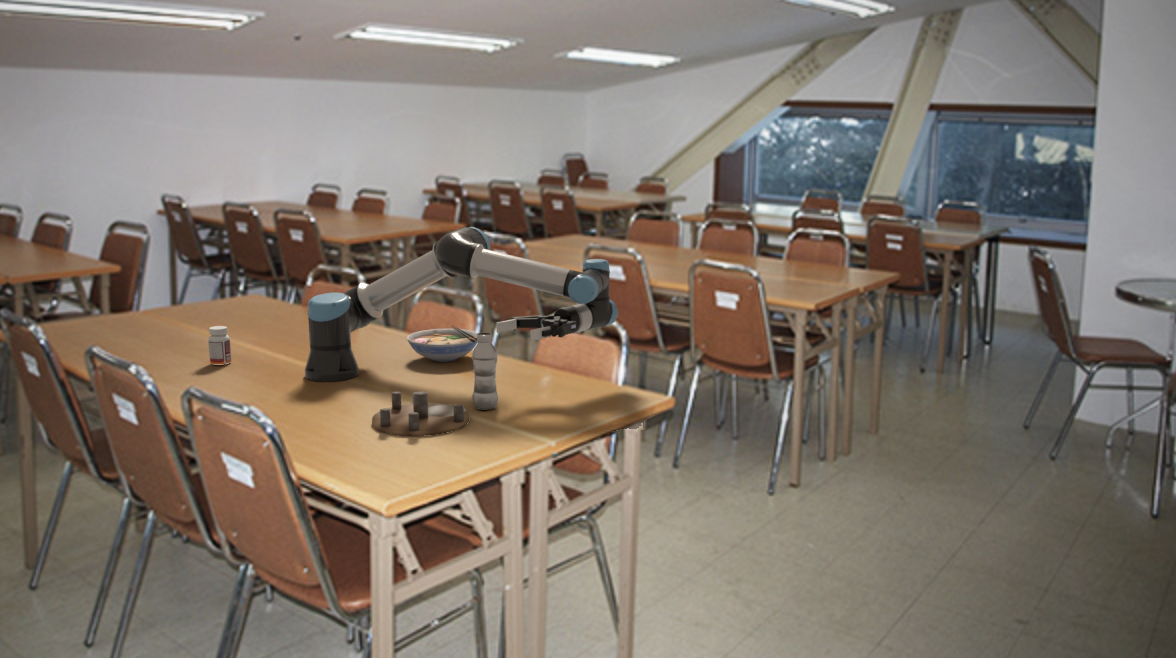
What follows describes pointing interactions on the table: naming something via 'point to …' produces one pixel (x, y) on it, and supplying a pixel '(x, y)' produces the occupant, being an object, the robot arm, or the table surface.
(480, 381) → the plastic bottle
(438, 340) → the ramen bowl
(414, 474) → the table surface
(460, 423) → the board
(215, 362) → the pill bottle
